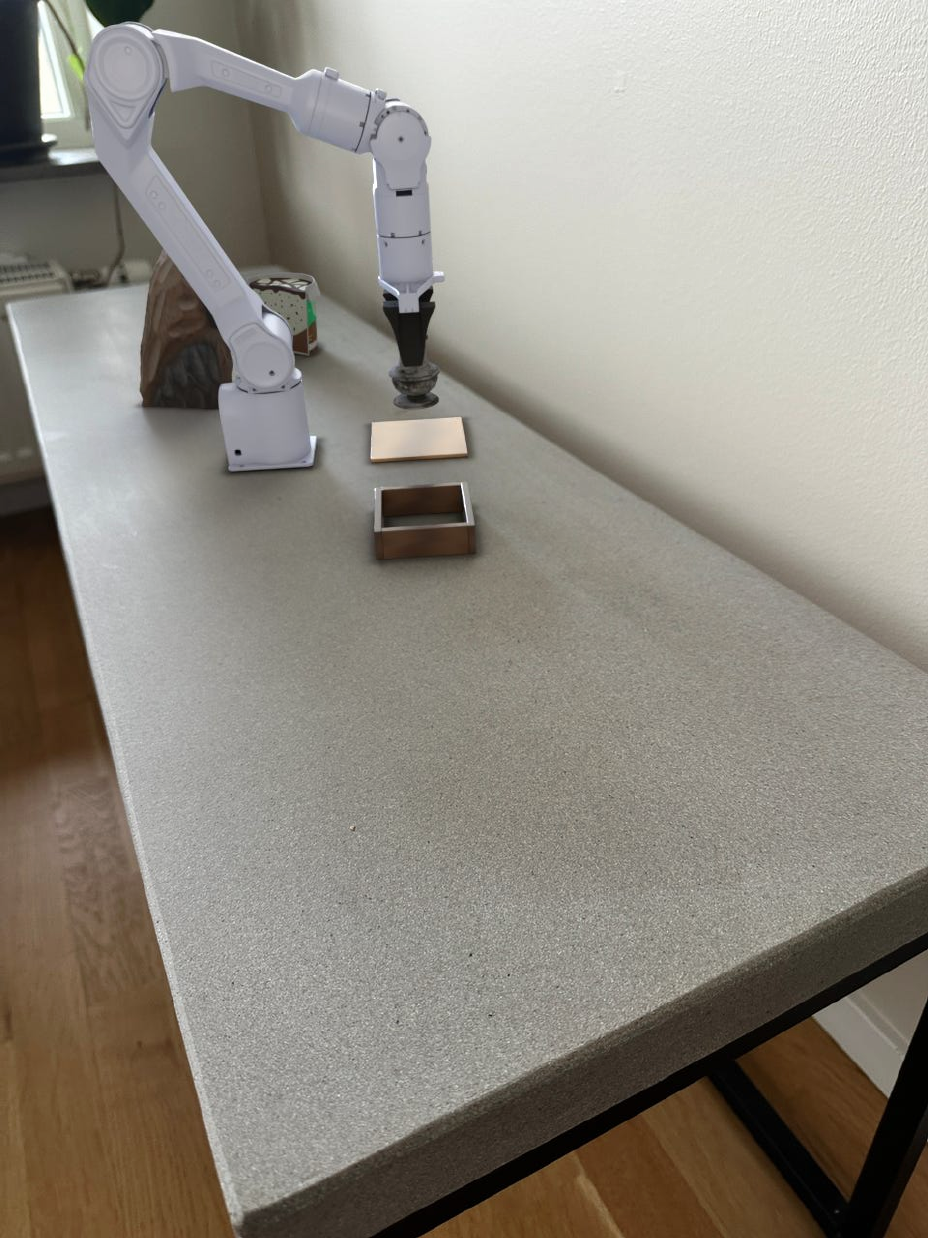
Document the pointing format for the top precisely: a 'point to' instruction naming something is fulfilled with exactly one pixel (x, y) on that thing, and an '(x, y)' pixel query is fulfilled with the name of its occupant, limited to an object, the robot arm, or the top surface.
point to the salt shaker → (415, 384)
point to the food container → (291, 304)
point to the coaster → (418, 439)
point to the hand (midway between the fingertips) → (412, 359)
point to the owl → (180, 345)
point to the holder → (424, 536)
